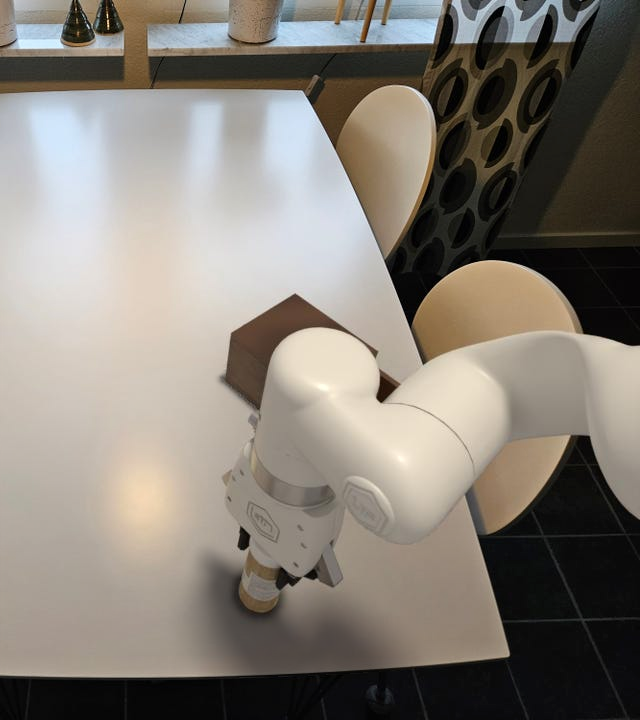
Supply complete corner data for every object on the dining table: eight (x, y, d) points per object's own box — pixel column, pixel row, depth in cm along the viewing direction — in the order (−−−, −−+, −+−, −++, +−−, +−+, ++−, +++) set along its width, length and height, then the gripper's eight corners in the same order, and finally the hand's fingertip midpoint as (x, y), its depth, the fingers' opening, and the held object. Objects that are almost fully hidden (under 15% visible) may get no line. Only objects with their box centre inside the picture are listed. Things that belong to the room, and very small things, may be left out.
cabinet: (361, 397, 91) (378, 351, 84) (300, 444, 86) (313, 399, 78) (285, 340, 99) (295, 292, 91) (224, 379, 93) (230, 332, 86)
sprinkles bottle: (246, 567, 74) (261, 508, 64) (284, 585, 73) (305, 527, 63) (231, 602, 71) (244, 547, 61) (270, 621, 70) (289, 568, 60)
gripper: (193, 418, 55) (186, 522, 68) (350, 565, 46) (306, 651, 60) (256, 376, 58) (237, 483, 72) (413, 506, 49) (358, 600, 63)
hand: (268, 559), depth 65 cm, fingers closed on sprinkles bottle, 4 cm apart
